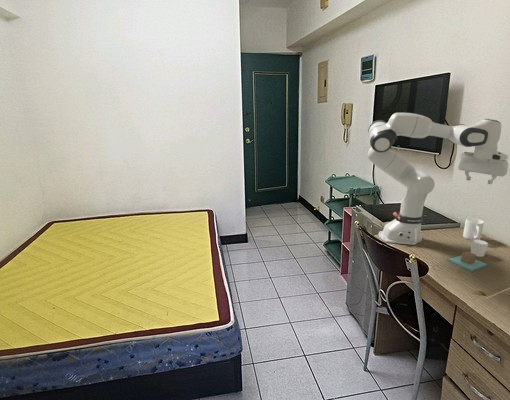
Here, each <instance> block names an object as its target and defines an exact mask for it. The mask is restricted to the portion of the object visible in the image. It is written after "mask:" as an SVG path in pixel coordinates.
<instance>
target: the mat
mask: <svg viewBox="0 0 510 400" xmlns="http://www.w3.org/2000/svg"><path fill="white" fill-rule="evenodd" d="M449 259H450V258H448V259H445V261H446V262H448V263H450V264H452V265H455V266H458V267H459V268H461V269H463V270H466V271H468V272H470V273H472V274H473V273H476V272H478V271H481V270H484V269H487V268H489V267H490V265H488V264H487V266H484V267H481V268H479V269H476V270H473V271H470V270H468V269H466V268H464V267H462V266H459V265H457V264H455V263H453V262H450V261H449Z"/></svg>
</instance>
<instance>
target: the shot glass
mask: <svg viewBox="0 0 510 400" xmlns="http://www.w3.org/2000/svg"><path fill="white" fill-rule="evenodd" d="M470 244H471V245H470V253H473V254H475V255H476V257H481V258H482V257H485V255H486V252H487V249H488V248H487V247H488V245H489V243H488V242H487V241H485V240H484V239H483V240H482V239H480V240H478V239H474V240H471V243H470Z"/></svg>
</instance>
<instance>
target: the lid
mask: <svg viewBox="0 0 510 400" xmlns="http://www.w3.org/2000/svg"><path fill="white" fill-rule="evenodd" d="M476 257H477V256H476V255H475V254H473V253H471V251H465V252H462V253H461V255H458V256H455V257H451V258H448V259H449V261H450V262H453V263H455V264H457V265H459V266H462V267H464V268H466V269H468V270H470V271H473V270H476V269H479V268H481V267H484V266H487V265H488V264H487V263H485V262H483V261H481V260H478V259H476ZM450 262H449V263H450ZM457 265H456V266H457ZM459 266H458V267H459ZM468 270H467V271H468ZM470 271H469V272H470Z"/></svg>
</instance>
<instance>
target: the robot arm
mask: <svg viewBox="0 0 510 400" xmlns="http://www.w3.org/2000/svg"><path fill="white" fill-rule="evenodd" d="M501 133H502V123H501V121H499V120H495V119H490V118H483V119H482V120H480V121H478V122H477V123H474V124H470V125H466V124H463V123H458V124H454V125H447V124H441V123H438V122H437V123H436V122H434V121H432V119H431V118H430V117H427V116H425V115H422V114H418V113H412V112H394V113H393V114H392V115H391V116H390V118H389V119H388V121H387V122H386V120H382V119H377V120H375V121H373V122H371V123H370V125H369V126H368V129H367V135H368V140H369V145H370V148H369V150H368V151H367V159H368V160H369V161H370V162H371V163H372V164H373V165H374V166H375V167H377V168H378V169H380V170H381V171H382V172H383V173H385V174H387V175H388V176H390V177H391V178H393V179H394V180H395V181H396V182H398V183H399V184H401V185H402V186H404V187H406V194H405V195H404V197H403V198H402V199H401V202H400V210H399V213H397V212H396V211H395V212H393V213H392V215H393V216H394V217H395V218H394V219H393V220H391V221H390V222H387V223H386V224H385V225H384V226H383V229H382V230H379V232H378V237H379V238H380V240H381V241H383V242H386V243H390V244H400V245H402V244H403V245H409V246H410V245H412V246H415V245H417V244H418V243H421V242H422V241H423V238H422V229H421V228H422V224H423V218H424V217H423V211H424V205H425V201H426V199H427V196H428V195H429V194H430V193H431V192H433V190H434V188H435V186H436V185H435V181H434V178H432V177H431V175H429V174H428V173H426V172H424V171H422V170H420V169H419V168H417V167H415V166H414V165H412V164H411V163H410V162H409V161H407V160H406V159H405V158H404V157H403V156H401V155H400V154H398V153H397V152H395V151H394V150H392V149H391V148H392V146H393V145H394V143H395V142H396V141H397V140H398V136H402V137H407V138H411V139H412V138H413V139H424V138H425V139H426V137H428V136H429V137H430V136H431V137H437V138H443V139H446V140H448V141H449V142H451V143H452V144H454V145H459V146H461V147H466V148H471V147H474V151H473V152H471V151H464V152H462V153H461V154H460V157H459V162H458V165H457V169H458V171H463V172H464V175H465V177H466V178H465V180H466V181H469V182H470V181H471V179H472V176H470V172H471V173H476V174H483V175H490V176H491V179H488V180H487V185H493V183H494V182H493V181H495V180H496V179H497V177H505V176H506V175H507V174H508V172H509V171H508V170H509V169H508V168H509V162H508V160H507V159H508V158H509V155H508V154H506V153H503V152H501V151H498V143H499V141H500V139H501V135H502V134H501Z"/></svg>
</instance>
